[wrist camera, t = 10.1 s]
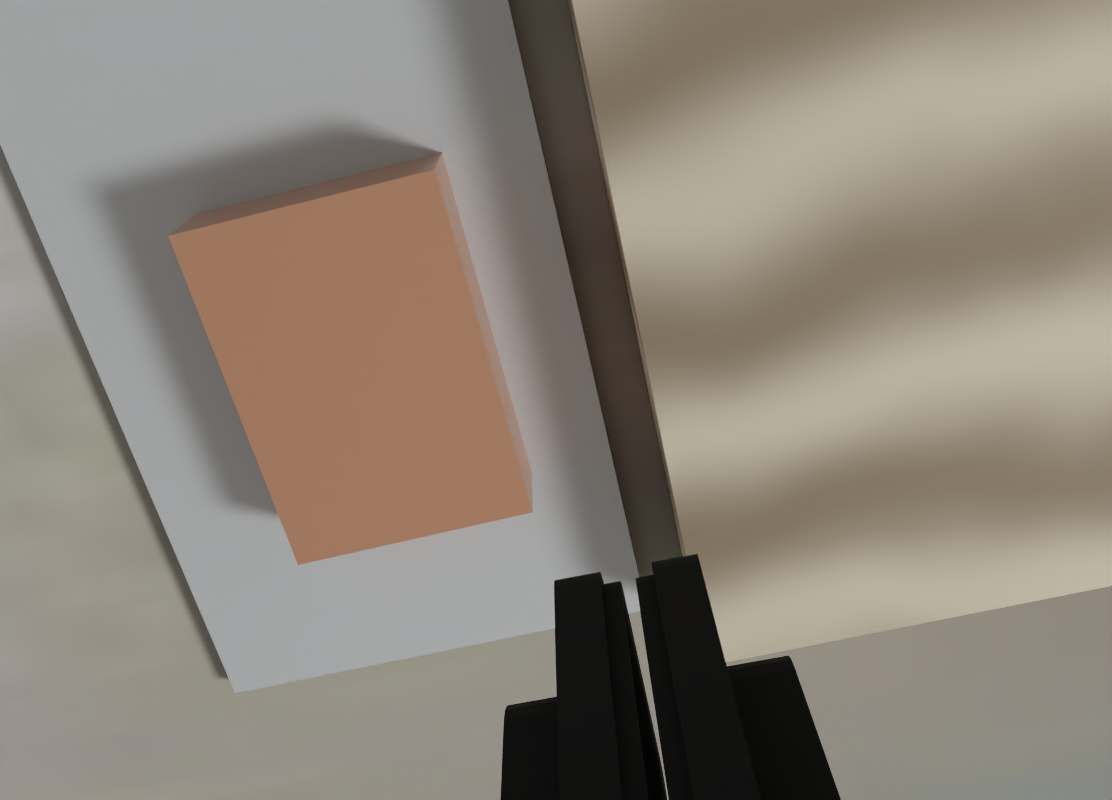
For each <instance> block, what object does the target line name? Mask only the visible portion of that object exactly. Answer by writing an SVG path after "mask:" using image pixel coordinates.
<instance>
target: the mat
mask: <svg viewBox="0 0 1112 800" xmlns="http://www.w3.org/2000/svg"><path fill="white" fill-rule="evenodd" d="M0 145H1V148H2V150H3V152H4V155H5V157H6V159H7V162H8V164H9V166H10V169H11V171H12V173H13V176H14V178H15V180H16V183H17V185H18V188H19V190H20V192H21V195H22V197H23V199H24V202H25V204H26V206H27V209H28V211H29V213H30V216H31V218H32V220H33V223H34V225H35V227H36V230H37V232H38V234H39V237H40V239H41V241H42V244H43V246H44V248H45V251H46V253H47V255H48V258H49V260H50V262H51V265H52V267H53V269H54V272H55V274H56V276H57V279H58V281H59V283H60V286H61V288H62V290H63V293H64V295H65V297H66V300H67V302H68V304H69V307H70V309H71V311H72V314H73V316H74V318H75V321H76V323H77V325H78V328H79V330H80V332H81V335H82V337H83V339H84V342H85V344H86V346H87V349H88V351H89V353H90V356H91V358H92V360H93V363H94V365H95V367H96V370H97V372H98V374H99V377H100V379H101V381H102V384H103V386H104V388H105V391H106V393H107V395H108V398H109V400H110V402H111V405H112V407H113V409H114V412H115V414H116V416H117V419H118V421H119V423H120V426H121V428H122V430H123V433H124V435H125V437H126V440H127V442H128V444H129V447H130V449H131V451H132V454H133V456H134V458H135V461H136V463H137V465H138V468H139V470H140V472H141V475H142V477H143V479H144V482H145V484H146V486H147V489H148V491H149V493H150V496H151V498H152V500H153V503H154V505H155V507H156V510H157V512H158V514H159V517H160V519H161V521H162V524H163V526H164V528H165V531H166V533H167V535H168V538H169V540H170V543H171V545H172V547H173V550H174V552H175V554H176V557H177V559H178V561H179V564H180V566H181V568H182V571H183V573H184V575H185V578H186V580H187V582H188V585H189V587H190V589H191V592H192V594H193V596H194V599H195V601H196V603H197V606H198V608H199V610H200V613H201V615H202V617H203V620H204V622H205V624H206V627H207V629H208V631H209V634H210V636H211V638H212V641H213V643H214V645H215V648H216V650H217V652H218V655H219V657H220V659H221V662H222V664H223V666H224V669H225V671H226V673H227V676H228V678H229V680H230V683H231V685H232V687H233V690H234V692H235V693H238V692H243V691H248V690H253V689H258V688H263V687H268V686H273V685H278V684H283V683H288V682H293V681H298V680H303V679H308V678H312V677H317V676H322V675H327V674H332V673H337V672H342V671H347V670H352V669H357V668H362V667H367V666H372V665H377V664H382V663H386V662H391V661H396V660H401V659H406V658H411V657H416V656H421V655H426V654H431V653H436V652H441V651H446V650H451V649H455V648H460V647H465V646H470V645H475V644H480V643H485V642H490V641H495V640H500V639H505V638H510V637H515V636H520V635H525V634H529V633H534V632H539V631H544V630H549V629H554V628H555V605H554V581H555V580H559V579H564V578H569V577H575V576H580V575H585V574H591V573H596V572H601V575H602V578H603V582H604V584H606V583H612V582H617V581H621V583H622V587H623V591H624V596H625V600H626V605H627V610H628V613H633V612H638V611H640V605H639V599H638V592H637V586H636V578H639V572H638V568H637V563H636V559H635V555H634V550H633V546H632V541H631V537H630V533H629V528H628V524H627V519H626V515H625V511H624V506H623V502H622V497H621V493H620V489H619V484H618V480H617V476H616V471H615V467H614V462H613V458H612V454H611V449H610V445H609V440H608V436H607V432H606V427H605V423H604V418H603V414H602V410H601V405H600V401H599V396H598V392H597V388H596V383H595V379H594V374H593V370H592V366H591V361H590V357H589V352H588V348H587V344H586V339H585V335H584V330H583V326H582V322H581V317H580V313H579V308H578V304H577V300H576V295H575V291H574V286H573V282H572V278H571V273H570V269H569V264H568V260H567V256H566V251H565V247H564V242H563V238H562V234H561V229H560V225H559V221H558V216H557V212H556V207H555V203H554V199H553V194H552V190H551V185H550V181H549V177H548V172H547V168H546V163H545V159H544V155H543V150H542V146H541V141H540V137H539V133H538V128H537V124H536V119H535V115H534V111H533V106H532V102H531V97H530V93H529V89H528V84H527V80H526V75H525V71H524V67H523V62H522V58H521V53H520V49H519V45H518V40H517V36H516V31H515V27H514V23H513V18H512V14H511V9H510V5H509V1H508V0H0ZM438 153H442V154H443V157H444V161H445V165H446V168H447V172H448V175H449V179H450V182H451V186H452V190H453V193H454V197H455V200H456V204H457V207H458V211H459V214H460V218H461V222H462V225H463V229H464V232H465V236H466V239H467V243H468V247H469V250H470V254H471V257H472V261H473V264H474V268H475V271H476V275H477V279H478V282H479V286H480V289H481V293H482V296H483V300H484V304H485V307H486V311H487V314H488V318H489V321H490V325H491V328H492V332H493V336H494V339H495V343H496V346H497V350H498V353H499V357H500V361H501V364H502V368H503V371H504V375H505V378H506V382H507V385H508V389H509V393H510V396H511V400H512V403H513V407H514V410H515V414H516V418H517V421H518V425H519V428H520V432H521V435H522V439H523V442H524V446H525V450H526V453H527V457H528V460H529V464H530V467H531V471H532V491H533V512H532V513H528V514H523V515H519V516H514V517H510V518H505V519H501V520H497V521H492V522H488V523H483V524H479V525H474V526H470V527H465V528H461V529H456V530H452V531H447V532H443V533H439V534H434V535H430V536H425V537H421V538H416V539H412V540H407V541H403V542H398V543H394V544H389V545H385V546H381V547H376V548H372V549H367V550H363V551H358V552H354V553H349V554H345V555H340V556H336V557H332V558H327V559H323V560H318V561H314V562H309V563H305V564H300V565H298V564H297V561H296V559H295V556H294V553H293V551H292V548H291V546H290V543H289V541H288V538H287V536H286V533H285V531H284V528H283V526H282V523H281V521H280V518H279V515H278V513H277V510H276V508H275V505H274V503H273V500H272V498H271V495H270V493H269V490H268V488H267V485H266V483H265V480H264V478H263V475H262V472H261V470H260V467H259V465H258V462H257V460H256V457H255V455H254V452H253V450H252V447H251V445H250V442H249V440H248V437H247V434H246V432H245V429H244V427H243V424H242V422H241V419H240V417H239V414H238V412H237V409H236V407H235V404H234V402H233V399H232V397H231V394H230V391H229V389H228V386H227V384H226V381H225V379H224V376H223V374H222V371H221V369H220V366H219V364H218V361H217V359H216V356H215V353H214V351H213V348H212V346H211V343H210V341H209V338H208V336H207V333H206V331H205V328H204V326H203V323H202V321H201V318H200V316H199V313H198V310H197V308H196V305H195V303H194V300H193V298H192V295H191V293H190V290H189V288H188V285H187V283H186V280H185V278H184V275H183V272H182V270H181V267H180V265H179V262H178V260H177V257H176V255H175V252H174V250H173V247H172V245H171V242H170V240H169V237H168V236H169V235H170V234H171V233H172V232H174V231H175V230H176V229H178V228H179V227H180V226H181V225H183V224H184V223H185V222H186V221H188V220H189V219H190V218H192V217H193V216H194V215H195V214H199V213H203V212H207V211H211V210H215V209H219V208H223V207H227V206H231V205H235V204H239V203H243V202H247V201H251V200H255V199H259V198H263V197H267V196H271V195H275V194H279V193H283V192H287V191H291V190H295V189H299V188H303V187H307V186H311V185H315V184H319V183H323V182H327V181H331V180H335V179H339V178H343V177H347V176H350V175H354V174H358V173H362V172H366V171H370V170H374V169H378V168H382V167H386V166H390V165H394V164H398V163H402V162H406V161H410V160H414V159H418V158H422V157H426V156H430V155H434V154H438Z"/></svg>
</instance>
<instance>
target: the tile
mask: <svg viewBox="0 0 1112 800" xmlns="http://www.w3.org/2000/svg"><path fill="white" fill-rule="evenodd" d="M168 237H169V240H170V242H171V245H172V247H173V250H174V252H175V255H176V257H177V260H178V262H179V265H180V267H181V270H182V272H183V275H184V278H185V280H186V283H187V285H188V288H189V290H190V293H191V295H192V298H193V300H194V303H195V305H196V308H197V310H198V313H199V316H200V318H201V321H202V323H203V326H204V328H205V331H206V333H207V336H208V338H209V341H210V343H211V346H212V348H213V351H214V353H215V356H216V359H217V361H218V364H219V366H220V369H221V371H222V374H223V376H224V379H225V381H226V384H227V386H228V389H229V391H230V394H231V397H232V399H233V402H234V404H235V407H236V409H237V412H238V414H239V417H240V419H241V422H242V424H243V427H244V429H245V432H246V434H247V437H248V440H249V442H250V445H251V447H252V450H253V452H254V455H255V457H256V460H257V462H258V465H259V467H260V470H261V472H262V475H263V478H264V480H265V483H266V485H267V488H268V490H269V493H270V495H271V498H272V500H273V503H274V505H275V508H276V510H277V513H278V515H279V518H280V521H281V523H282V526H283V528H284V531H285V533H286V536H287V538H288V541H289V543H290V546H291V548H292V551H293V553H294V556H295V559H296V561H297V564H298V565H300V564H305V563H309V562H314V561H318V560H323V559H327V558H332V557H336V556H340V555H345V554H349V553H354V552H358V551H363V550H367V549H372V548H376V547H381V546H385V545H389V544H394V543H398V542H403V541H407V540H412V539H416V538H421V537H425V536H430V535H434V534H439V533H443V532H447V531H452V530H456V529H461V528H465V527H470V526H474V525H479V524H483V523H488V522H492V521H497V520H501V519H505V518H510V517H514V516H519V515H523V514H528V513H532V512H533V491H532V471H531V467H530V464H529V460H528V457H527V453H526V450H525V446H524V442H523V439H522V435H521V432H520V428H519V425H518V421H517V418H516V414H515V410H514V407H513V403H512V400H511V396H510V393H509V389H508V385H507V382H506V378H505V375H504V371H503V368H502V364H501V361H500V357H499V353H498V350H497V346H496V343H495V339H494V336H493V332H492V328H491V325H490V321H489V318H488V314H487V311H486V307H485V304H484V300H483V296H482V293H481V289H480V286H479V282H478V279H477V275H476V271H475V268H474V264H473V261H472V257H471V254H470V250H469V247H468V243H467V239H466V236H465V232H464V229H463V225H462V222H461V218H460V214H459V211H458V207H457V204H456V200H455V197H454V193H453V190H452V186H451V182H450V179H449V175H448V172H447V168H446V165H445V161H444V157H443V154H442V153H438V154H434V155H430V156H426V157H422V158H418V159H414V160H410V161H406V162H402V163H398V164H394V165H390V166H386V167H382V168H378V169H374V170H370V171H366V172H362V173H358V174H354V175H350V176H347V177H343V178H339V179H335V180H331V181H327V182H323V183H319V184H315V185H311V186H307V187H303V188H299V189H295V190H291V191H287V192H283V193H279V194H275V195H271V196H267V197H263V198H259V199H255V200H251V201H247V202H243V203H239V204H235V205H231V206H227V207H223V208H219V209H215V210H211V211H207V212H203V213H199V214H195V215H194V216H193V217H192V218H190V219H189V220H188V221H186V222H185V223H184V224H183V225H181V226H180V227H179V228H178V229H176V230H175V231H174V232H172V233H171V234H170V235H169V236H168Z"/></svg>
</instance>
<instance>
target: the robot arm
mask: <svg viewBox="0 0 1112 800" xmlns="http://www.w3.org/2000/svg"><path fill="white" fill-rule="evenodd" d="M651 563H652V569H653V574H654V575H649V576H644V577H639V578H636V586H637V592H638V599H639V605H640V612H641V618H642V625H643V632H644V638H645V645H646V651H647V658H648V664H649V671H650V678H651V684H652V691H653V697H654V704H655V710H656V717H657V724H658V730H659V737H660V743H661V750H662V756H663V763H664V770H665V776H666V783H667V789H668V796H669V800H841V799H840V796H839V793H838V791H837V788H836V785H835V782H834V779H833V776H832V773H831V771H830V768H829V765H828V762H827V759H826V756H825V753H824V751H823V748H822V745H821V742H820V739H819V736H818V733H817V730H816V728H815V725H814V722H813V719H812V716H811V713H810V710H809V708H808V705H807V702H806V699H805V696H804V693H803V690H802V688H801V685H800V682H799V679H798V676H797V673H796V670H795V668H794V665H793V663H792V660H791V658H790V657H789V656H784V657H778V658H773V659H767V660H761V661H756V662H750V663H744V664H739V665H733V666H728V667H727V666H726V662H725V658H724V654H723V650H722V647H721V643H720V639H719V635H718V631H717V627H716V623H715V619H714V615H713V612H712V608H711V604H710V600H709V596H708V592H707V588H706V584H705V581H704V577H703V573H702V569H701V565H700V561H699V557H698V554H693V555H688V556H682V557H677V558H672V559H666V560H661V561H656V562H651ZM554 605H555V643H556V682H557V697H553V698H547V699H542V700H536V701H531V702H525V703H519V704H514V705H508V706H507V708H506V710H505V716H504V734H503V758H502V782H501V800H667V795H666V789H665V783H664V777H663V772H662V766H661V761H660V756H659V752H658V747H657V743H656V738H655V733H654V729H653V724H652V720H651V715H650V710H649V706H648V701H647V697H646V692H645V688H644V683H643V678H642V674H641V669H640V665H639V660H638V655H637V651H636V646H635V642H634V637H633V632H632V628H631V623H630V619H629V614H628V610H627V605H626V600H625V596H624V591H623V587H622V583H621V581H617V582H612V583H606V584H604V582H603V578H602V575H601V572H596V573H591V574H585V575H580V576H575V577H569V578H564V579H559V580H555V581H554Z"/></svg>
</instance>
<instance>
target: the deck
mask: <svg viewBox="0 0 1112 800" xmlns="http://www.w3.org/2000/svg"><path fill="white" fill-rule="evenodd" d="M567 1H568V6H569V11H570V15H571V20H572V25H573V30H574V35H575V40H576V44H577V49H578V54H579V59H580V64H581V69H582V74H583V78H584V83H585V88H586V93H587V98H588V103H589V107H590V112H591V117H592V122H593V127H594V132H595V136H596V141H597V146H598V151H599V156H600V161H601V165H602V170H603V175H604V180H605V185H606V190H607V194H608V199H609V204H610V209H611V214H612V219H613V223H614V228H615V233H616V238H617V243H618V248H619V253H620V257H621V262H622V267H623V272H624V277H625V282H626V286H627V291H628V296H629V301H630V306H631V311H632V315H633V320H634V325H635V330H636V335H637V340H638V344H639V349H640V354H641V359H642V364H643V369H644V373H645V378H646V383H647V388H648V393H649V398H650V402H651V407H652V412H653V417H654V422H655V427H656V432H657V436H658V441H659V446H660V451H661V456H662V461H663V465H664V470H665V475H666V480H667V485H668V490H669V494H670V499H671V504H672V509H673V514H674V519H675V523H676V528H677V533H678V538H679V543H680V548H681V552H682V556H688V555H693V554H698V557H699V561H700V565H701V569H702V573H703V577H704V581H705V584H706V588H707V592H708V596H709V600H710V604H711V608H712V612H713V615H714V619H715V623H716V627H717V631H718V635H719V639H720V643H721V647H722V650H723V654H724V658H725V662H731V661H736V660H741V659H746V658H751V657H756V656H761V655H766V654H771V653H776V652H781V651H786V650H791V649H796V648H801V647H806V646H811V645H816V644H821V643H826V642H831V641H836V640H842V639H847V638H852V637H857V636H862V635H867V634H872V633H877V632H882V631H887V630H892V629H897V628H902V627H907V626H912V625H917V624H922V623H927V622H932V621H937V620H942V619H947V618H952V617H957V616H962V615H967V614H972V613H978V612H983V611H988V610H993V609H998V608H1003V607H1008V606H1013V605H1018V604H1023V603H1028V602H1033V601H1038V600H1043V599H1048V598H1053V597H1058V596H1063V595H1068V594H1073V593H1078V592H1083V591H1088V590H1093V589H1098V588H1103V587H1108V586H1112V0H567Z"/></svg>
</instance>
